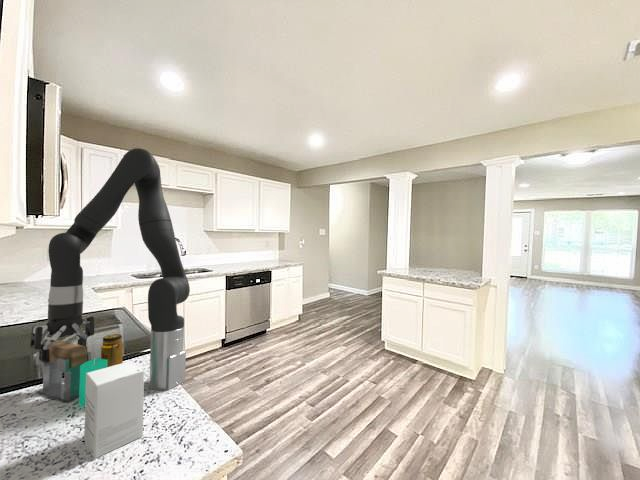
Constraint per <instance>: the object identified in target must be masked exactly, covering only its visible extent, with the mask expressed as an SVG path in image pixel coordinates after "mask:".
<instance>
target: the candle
mask: <svg viewBox="0 0 640 480" xmlns="http://www.w3.org/2000/svg"><path fill="white" fill-rule="evenodd" d="M93 357H94V358H93V359H91V360H90V361H87V362H85V363H83V364H82V365H81V366H80V387H79V398H78V406H80V407H81V408H85V397H86V373H88V372H92V371H96V370H99V369H103V368H107V362H108V360H105V359H101V358H95V356H93Z"/></svg>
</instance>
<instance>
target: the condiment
mask: <svg viewBox="0 0 640 480" xmlns="http://www.w3.org/2000/svg"><path fill="white" fill-rule="evenodd" d="M122 337H123V336H122V334H120V333H119V334H118V333H115V334H114V333H113V334H109V335H106V336H105V335H104V337H103V338H102V345H101V346H100V347H101V348H100V352H101V353H100V359H105V360H108V362H107V367H110V366H114V365H118V364H121V363H124V362H123V358H124V357H123V356H124V355H123V354H124V352H123V351H124V343H123V338H122Z"/></svg>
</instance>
